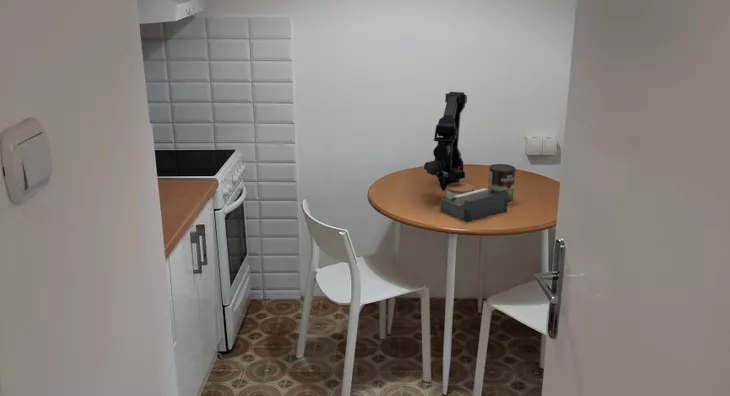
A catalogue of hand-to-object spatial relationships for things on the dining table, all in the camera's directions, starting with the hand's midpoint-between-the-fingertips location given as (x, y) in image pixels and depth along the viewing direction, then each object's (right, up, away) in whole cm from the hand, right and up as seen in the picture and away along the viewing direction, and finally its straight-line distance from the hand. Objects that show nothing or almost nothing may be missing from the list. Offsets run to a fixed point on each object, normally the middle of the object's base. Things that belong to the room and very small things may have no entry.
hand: (443, 190), depth 287 cm
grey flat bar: (+8, -7, -12) cm, 16 cm away
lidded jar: (+6, -6, -6) cm, 10 cm away
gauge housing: (+10, -8, -12) cm, 18 cm away
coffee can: (+23, -4, -1) cm, 23 cm away
